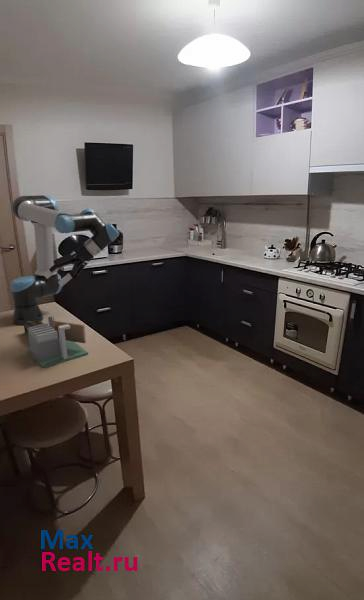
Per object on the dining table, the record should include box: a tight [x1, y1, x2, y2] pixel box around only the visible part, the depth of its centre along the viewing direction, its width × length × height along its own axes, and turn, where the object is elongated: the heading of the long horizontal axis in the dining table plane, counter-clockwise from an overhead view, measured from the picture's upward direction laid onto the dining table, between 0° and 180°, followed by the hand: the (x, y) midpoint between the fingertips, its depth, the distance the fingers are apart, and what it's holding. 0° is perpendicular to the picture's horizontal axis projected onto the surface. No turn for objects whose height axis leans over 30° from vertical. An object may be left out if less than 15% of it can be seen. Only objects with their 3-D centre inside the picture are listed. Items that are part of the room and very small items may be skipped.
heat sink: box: [27, 322, 89, 369], centre depth 150 cm, size 20×19×14 cm
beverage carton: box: [23, 320, 45, 338], centre depth 168 cm, size 8×19×7 cm, turn 38°
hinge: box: [47, 316, 87, 344], centre depth 154 cm, size 18×2×12 cm, turn 68°
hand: (52, 280), depth 160 cm, fingers open, 13 cm apart
